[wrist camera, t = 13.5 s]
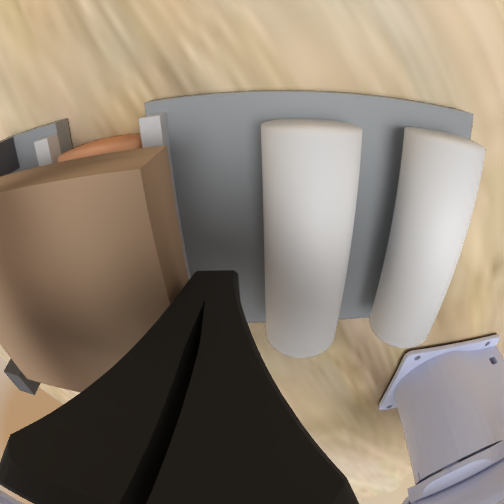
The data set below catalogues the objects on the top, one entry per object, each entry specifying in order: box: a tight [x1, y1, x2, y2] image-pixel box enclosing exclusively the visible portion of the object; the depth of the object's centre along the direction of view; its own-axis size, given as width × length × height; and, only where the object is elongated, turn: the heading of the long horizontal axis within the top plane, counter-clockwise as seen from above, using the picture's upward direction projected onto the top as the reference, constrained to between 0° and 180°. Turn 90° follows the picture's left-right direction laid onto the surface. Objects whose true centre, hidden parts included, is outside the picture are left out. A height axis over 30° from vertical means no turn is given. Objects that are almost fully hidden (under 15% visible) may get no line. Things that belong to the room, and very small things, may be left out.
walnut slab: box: [0, 145, 189, 392], centre depth 9 cm, size 9×9×2 cm
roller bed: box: [0, 90, 486, 395], centre depth 11 cm, size 22×11×7 cm, turn 92°
